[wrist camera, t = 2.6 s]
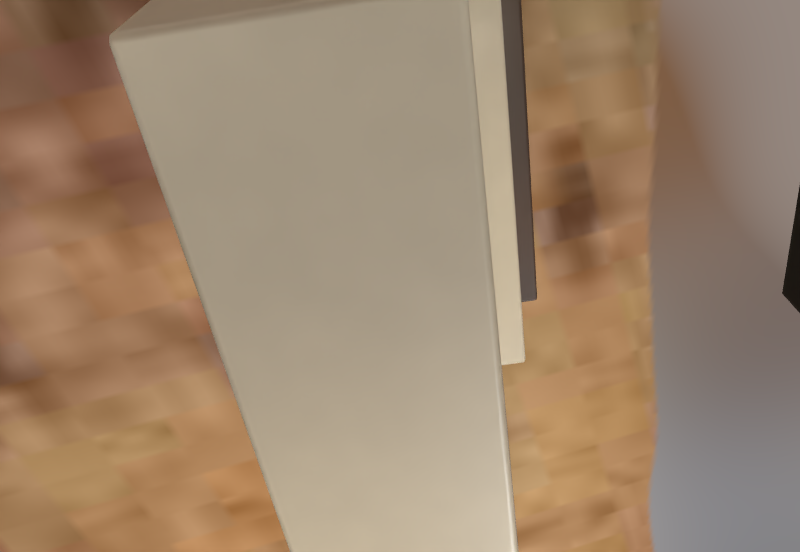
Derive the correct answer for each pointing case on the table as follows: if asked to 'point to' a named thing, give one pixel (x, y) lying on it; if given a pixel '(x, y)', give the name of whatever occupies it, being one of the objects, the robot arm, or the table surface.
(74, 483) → the table surface
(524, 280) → the riser
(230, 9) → the eraser
